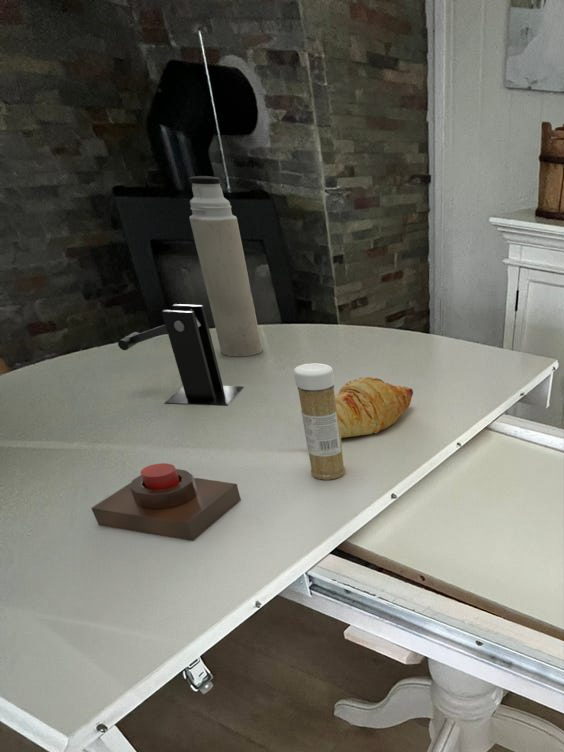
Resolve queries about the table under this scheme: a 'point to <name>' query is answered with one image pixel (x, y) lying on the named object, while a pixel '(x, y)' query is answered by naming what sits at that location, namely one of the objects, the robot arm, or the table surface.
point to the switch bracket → (196, 359)
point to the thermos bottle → (224, 268)
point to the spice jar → (320, 419)
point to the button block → (168, 507)
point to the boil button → (160, 476)
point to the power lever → (145, 335)
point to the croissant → (369, 406)
